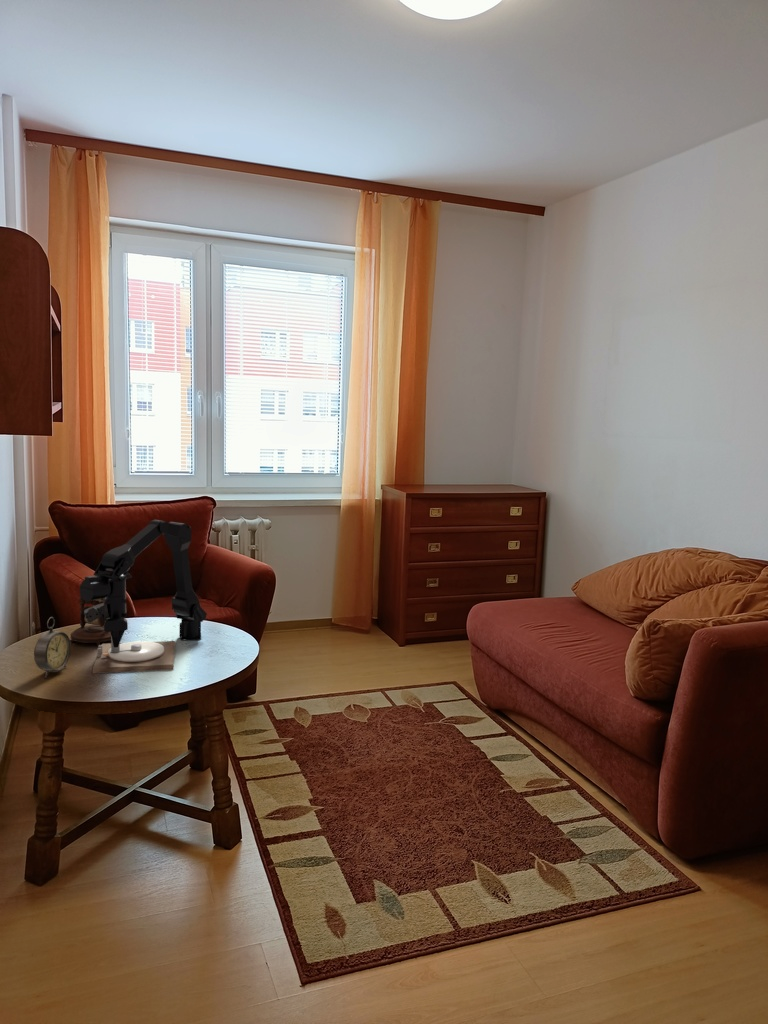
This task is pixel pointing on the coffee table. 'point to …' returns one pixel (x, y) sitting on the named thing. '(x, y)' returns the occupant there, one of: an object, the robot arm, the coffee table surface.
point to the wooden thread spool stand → (90, 626)
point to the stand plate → (159, 663)
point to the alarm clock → (52, 650)
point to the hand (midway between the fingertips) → (115, 647)
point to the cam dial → (135, 651)
